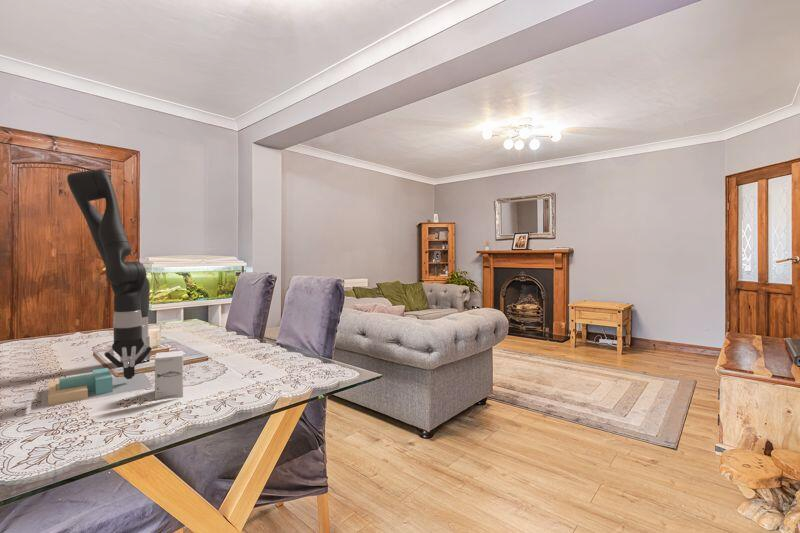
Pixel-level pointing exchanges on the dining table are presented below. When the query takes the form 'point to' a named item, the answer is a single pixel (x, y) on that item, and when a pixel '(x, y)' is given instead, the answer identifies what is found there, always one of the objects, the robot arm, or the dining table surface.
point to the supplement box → (169, 375)
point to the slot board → (81, 393)
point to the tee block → (90, 381)
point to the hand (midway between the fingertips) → (129, 378)
